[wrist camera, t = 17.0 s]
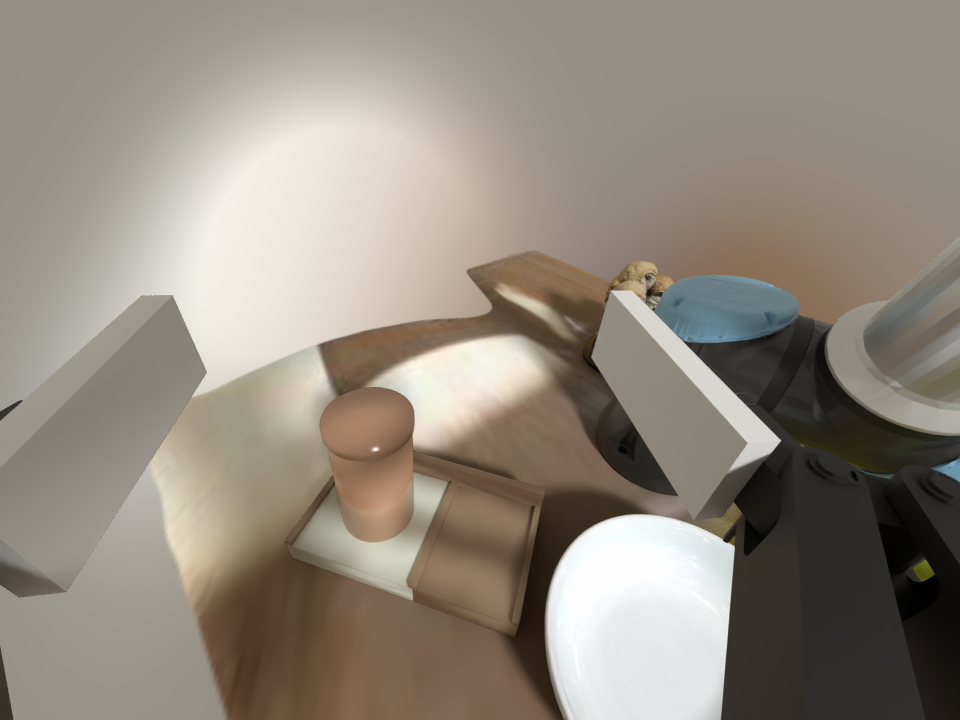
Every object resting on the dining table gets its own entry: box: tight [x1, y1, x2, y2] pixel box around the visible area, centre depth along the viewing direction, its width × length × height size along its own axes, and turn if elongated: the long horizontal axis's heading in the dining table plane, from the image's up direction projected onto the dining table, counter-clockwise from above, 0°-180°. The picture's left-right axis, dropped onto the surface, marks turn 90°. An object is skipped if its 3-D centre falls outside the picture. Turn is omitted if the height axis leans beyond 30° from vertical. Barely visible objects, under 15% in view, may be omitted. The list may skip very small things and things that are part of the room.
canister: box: [320, 387, 415, 543], centre depth 36 cm, size 7×7×13 cm
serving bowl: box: [545, 514, 735, 720], centre depth 30 cm, size 21×21×7 cm
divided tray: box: [285, 451, 545, 638], centre depth 39 cm, size 12×22×5 cm, turn 73°
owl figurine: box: [583, 261, 673, 370], centre depth 64 cm, size 18×12×17 cm, turn 132°
